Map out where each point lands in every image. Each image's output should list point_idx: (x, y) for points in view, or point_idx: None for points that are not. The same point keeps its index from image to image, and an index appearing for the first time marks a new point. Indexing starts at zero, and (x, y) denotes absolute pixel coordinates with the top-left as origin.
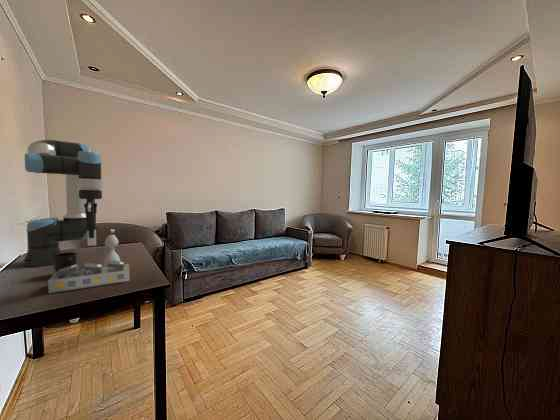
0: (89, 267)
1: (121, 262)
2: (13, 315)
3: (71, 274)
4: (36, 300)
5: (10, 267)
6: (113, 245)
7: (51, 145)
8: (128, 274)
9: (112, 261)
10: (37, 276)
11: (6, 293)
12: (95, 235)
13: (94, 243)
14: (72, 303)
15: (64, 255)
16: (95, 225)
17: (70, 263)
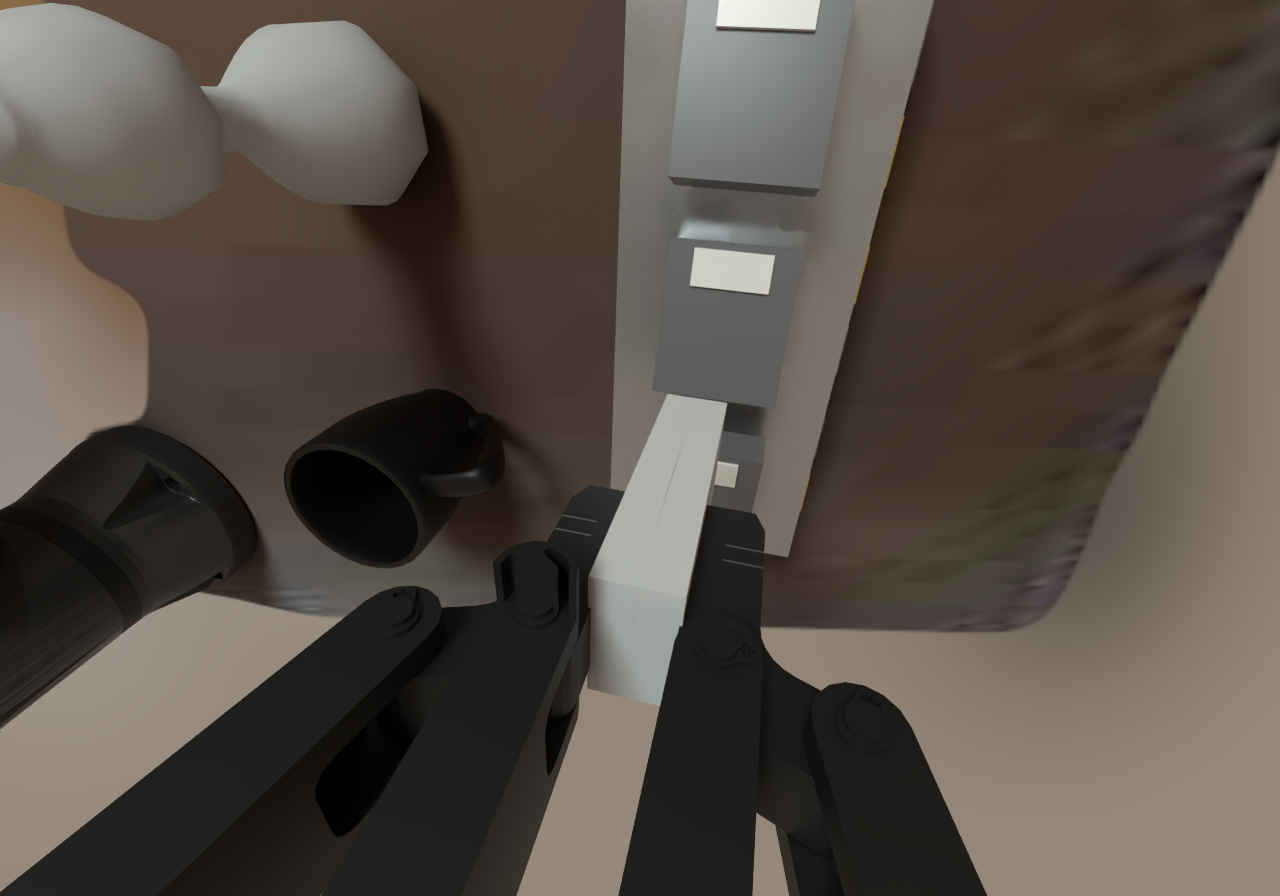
0: (782, 360)
1: (742, 2)
2: (1023, 613)
3: None
4: (867, 545)
5: (251, 601)
6: (199, 94)
7: None
8: None
9: (701, 128)
10: None
11: None
12: (703, 504)
13: (721, 433)
14: (1114, 412)
15: (314, 494)
16: (473, 655)
17: (500, 460)
